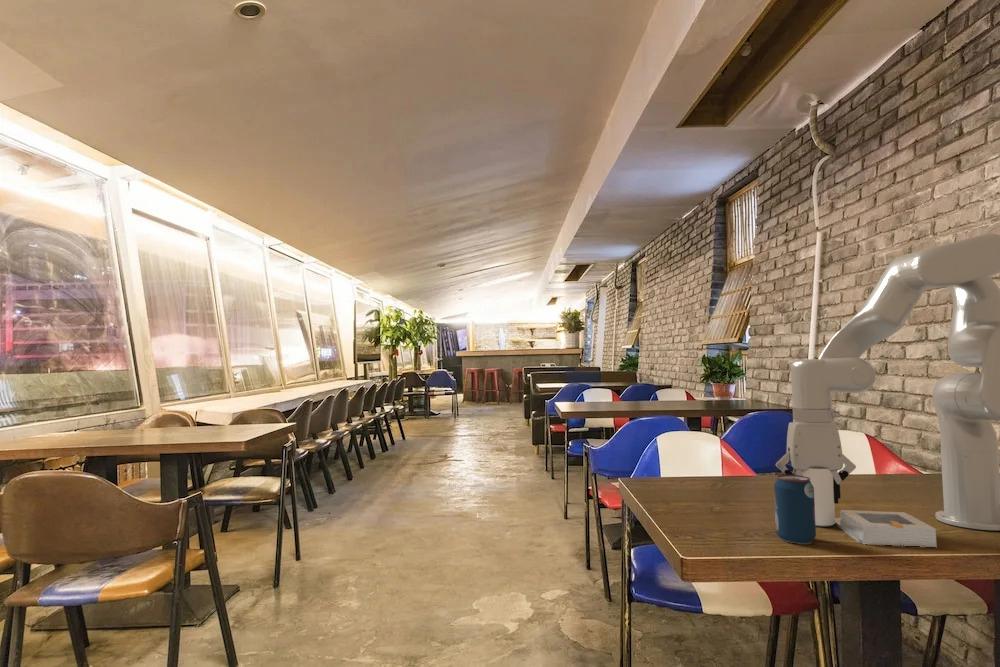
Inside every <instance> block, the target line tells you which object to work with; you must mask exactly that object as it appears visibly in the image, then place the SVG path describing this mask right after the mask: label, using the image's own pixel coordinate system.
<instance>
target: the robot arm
mask: <svg viewBox="0 0 1000 667" xmlns="http://www.w3.org/2000/svg"><path fill="white" fill-rule="evenodd" d="M999 273H1000V234H998V233H983V234H980V235H976V236H972V237H969V238H964V239H962V240H958V241H953V242H951V243H946V244H942V245H937V246H932V247H929V248H928V247H927V248H922V249H920V250H917V251H914V252H910V253H906V254H904V255H901V256H898V257H896V258H894V259H893V260H892V261H890V263H889V264H887V266H886V268H885V270H884V271H883V273H882V274H881V276H880V278H879V279H878V281H877V282H876V284H875V286H874V287H873V289H872V290H871V292H870V294H869V295H868V297H867V298H866V300H865V302H864V304H863V305H862V307H861V308H860V309H859V311H858V312H857V313H856V314H855V315H854V316H853V317H852V318H850V319H849V320H848V321H847V323H846V324H845V325H843V326H842V327H841V328H840V329H839V330H838V331H837V332H836V333H835V334H834V335H833V336H832V338H830V340H829V341H828V343H827V344H826V346H825V347H824V349H823V350H822V352H821V353H820V355H819V357H818V359H817V358H815V359H814V358H813V359H812V358H811V359H797V360H794V361H792V362H791V365H790V381H791V382H790V384H791V386H790V387H791V400H792V401H791V404H792V421H791V422H790V421H789V423H788V427H787V434H786V452H785V454H784V455H782V457H781V458H780V459H779V460H778V461H776V463H775V466H776V467H777V469H778V470H780V471H781V472H782V473H783V475H800V476H802V475H803V472H804V470H808V469H809V467H810V468H828V470H829V471H831V473H832V475H833V484H834V485H833V487H834V504H835V505H836V504H839V500H840V499H841V484H842V483H843V481H845V479H846V478H847V477H849V475H850V474H851V473H852V472H853V471H855V470H856V468H857V465H856V464H855V463H853V462H852V461H851V460H850V459H849V458H848V457H847V456H846V455H844V453H843V450H842V443H841V442H842V441H841V437H840V434H839V433H840V432H839V429H838V426H837V423H835V419H837V418H840V417H841V413H840V411H839V410H834V408H833V404H832V403H833V401H832V398H833V397H832V392H835V393H836V392H838V393H847V394H849V393H850V394H859V393H863V392H865V391H867V390H869V389H870V388H871V387H872V386H873V385H874V384H875V382H876V378H877V374H876V370H875V367H874V366H873V365H872V364H871V363H870V362H868V361H867V360H865V359H862V358H861V356H862V355H863V354H864V353H866V351H867V350H869V349H870V348H872V347H873V346H874V345H876V344H878V343H880V342H881V341H883V340H886V339H888V338H890V337H891V336H893V335H895V334H896V333H898V332H899V331H900V330H901V329H902V328H903V327H904V325H905V324H906V322H907V320H908V319H909V317H910V315H911V314H912V311H913V310H914V308H915V307H916V305H917V304H918V302H919V301H920V299H921V297H922V296H923V294H924V292H926V291H930V290H931V291H932V290H935V289H936V290H937V289H940V288H945V287H946V289H947V290H948V291H949V293H950V295H951V298H952V315H951V322H950V328H949V335H948V340H947V355H948V357H949V360H951V361H952V362H954V364H957V365H959V366H961V367H967V368H981V372H955V373H950V374H948V375H945V376H943V377H942V378H940V379H938V381H937V382H936V383H935V384H934V386H933V389H932V403H933V407H934V410H935V414H936V417H937V422H938V428H939V437H940V438H939V440H940V458H941V477H942V478H941V479H942V480H941V482H942V495H943V510H938V511H936V512H935V513H934V514H935V519H936V520H937V521H940V522H941V523H943V524H948V525H951V526H955V527H959V528H965V529H972V530H980V531H997V532H998V531H1000V461H999V460H1000V457H999V442H998V441H999V440H998V437H997V432H996V430H995V427H994V426H993V424H992V421H994V422H1000V287H999V286H998V284H997V283H996V281H995V280H993V278H992V277H991V276H993V275H997V274H999ZM786 465H788V466H790V467H792V468H793V470H792V471H791V470H790V469H788V468H787V466H786Z"/></svg>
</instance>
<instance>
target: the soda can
mask: <svg viewBox="0 0 1000 667" xmlns="http://www.w3.org/2000/svg"><path fill="white" fill-rule="evenodd" d="M773 493H774V496H773V498H774V518H775V519H774V521H775V522H774V523H775V524H774V525H775V533H776V535H777V537H778V538H779V539H780V540H781V541H782V540H783V541H782V542H784V541H786V542H785V543H788V542H791V543H790V544H792V543H797V544H796V545H810V544H812V543H813V542H814V540H815V539H816V536H817V531H816V527H817V526H816V525H815V502H814V487H813V485H812V484H811V482H810V478H809V477H806V476H800V475H785V474H779V475H777V476H776V480H775V481H774V484H773Z"/></svg>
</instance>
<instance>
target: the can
mask: <svg viewBox="0 0 1000 667" xmlns="http://www.w3.org/2000/svg"><path fill="white" fill-rule="evenodd" d="M802 476H806V477H809V478H810V482H811V484H812V485H813V487H814V502H815V525H816V527H820V528H821V527H822V528H824V527H825V528H826V527H827V528H828V527H833V526H834V525H835V518H836V511H835V510H836V508H835V505H836V504H835V503H834V487H833V485H834V484H833V475H832V473H831V471H829V470H828V468H810V467H809V469H808V470H804V472H803V475H802Z"/></svg>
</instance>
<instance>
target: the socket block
mask: <svg viewBox="0 0 1000 667" xmlns="http://www.w3.org/2000/svg"><path fill="white" fill-rule="evenodd" d="M834 525H835V526H836V527H837V528H839V529H840V530H841V531H842V532H844V533H845V534H846V535H848V537H851V538H852V539H853V540H854V541H856V542H857V543H861V544H863V545H866V544H867V545H868V546H885V545H892V546H891V547H905V546H920V547H919V548H925V547H936V548H935V549H937V548H938V545H937V544H938V543H937V530H936V528H935V527H934V526H931V525H929V524H927V523H926V522H924V521H921V520H920V519H918V518H916V517H914V516H913V515H911V514H908V513H906V512H903V511H881V510H880V511H877V510H875V511H874V510H855V509H854V510H852V509H849V510H848V509H840V510H839V517H835V524H834ZM900 545H901V546H900ZM903 545H904V546H903Z"/></svg>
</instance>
